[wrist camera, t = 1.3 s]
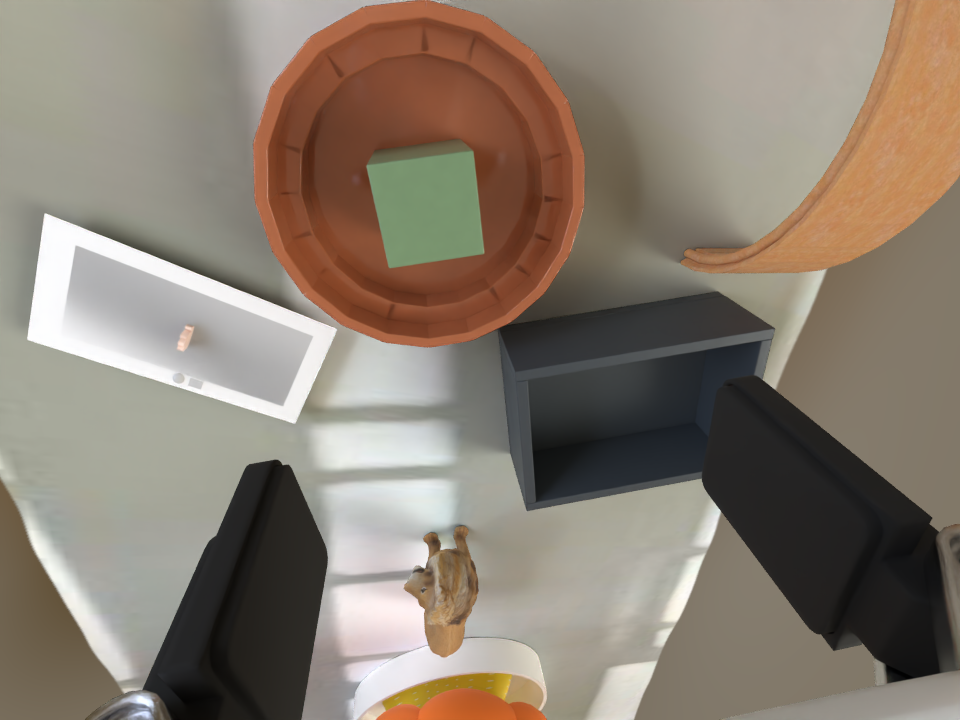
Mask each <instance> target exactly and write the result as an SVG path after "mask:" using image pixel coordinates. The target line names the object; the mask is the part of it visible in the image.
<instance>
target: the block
mask: <svg viewBox="0 0 960 720" xmlns="http://www.w3.org/2000/svg"><path fill="white" fill-rule="evenodd" d="M367 171H368V176H369V180H370V185H371V190H372V194H373V199H374V203H375V208H376V212H377V217H378V221H379V226H380V230H381V235H382V239H383V244H384V249H385V253H386V258H387V262H388V267H389V268H396V267H402V266H409V265H416V264H422V263H429V262H435V261H442V260H449V259H455V258H462V257H468V256H475V255H482V254H484V243H483V234H482V225H481V215H480V206H479V197H478V187H477V178H476V169H475V160H474V152H473V150H472V149H471V148H470V147H468V146H467V145H466V144H465V143H464V142H463V141H462V140H461V139H454V140H446V141H439V142H431V143H424V144H417V145H409V146H402V147H395V148H387V149H380V150H375V151H374V153H373V154H372V156H371V158H370V160H369V162H368V164H367Z"/></svg>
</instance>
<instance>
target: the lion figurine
mask: <svg viewBox="0 0 960 720" xmlns="http://www.w3.org/2000/svg"><path fill="white" fill-rule="evenodd" d="M467 535H468V529H467V528H466V527H465V526H458V527H456V528H455V530H454V540H455V542H456V546H457V549H456V548H455V549H445V550H440V547H441V543H440V540H439V539H438V536H437V534H436V533H431V532H430V533H429V534H427V535H426V536H425V537H424V538H423V540H424V542H425V543H427V544H428V547H429V557H428V561H427V564H426V568H425V569H424V568H422V567H421V566H415V567H414V569H413V572H412V575H411V576H410V577H409V579H408V581H407V583H406V584H405V585H404V589H405V591H407V592H409V593H411V594H412V595H413V596H415V597H416V598H417V599H418V602H419V605H420V606H421V607H423V608H424V609H425V613H424V622H425V634H426V637H427V641H428V644H429V647H430V650H431V651H432V652H433V653H434V654H437V655H440V656H441V657H443V658H445V657H448V656H449V655H451V654H453V653H455V652H456V651H457V650H458V649H459V648H460V647H461V645H462V642H463V638H464V630H465V626H464V625H465V622H466V619H467V617H468V616H469V614H470V613H471V611H472V606H473V605H474V603H475V601H476V598H477V594H478V578H477V574H476V568H475V565H474V562H473V561H472V560H471V556H470V553H469V550H468V546H467V544H466V540H465V538H466V536H467Z"/></svg>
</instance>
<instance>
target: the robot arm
mask: <svg viewBox="0 0 960 720" xmlns="http://www.w3.org/2000/svg"><path fill="white" fill-rule="evenodd" d="M702 482H703V486H704V488H705V490H706V491H707V493H708V494H709V496H710V497H711V498H712V500H713V501H714V502H715V504H716V505H717V506H718V508H719V509H720V510H721V512H722V513H723V514H724V516H725V517H726V518H727V520H728V521H729V522H730V524H731V525H732V526H733V528H734V529H735V530H736V532H737V533H738V534H739V536H740V537H741V538H742V540H743V541H744V542H745V544H746V545H747V546H748V548H749V549H750V550H751V552H752V553H753V554H754V556H755V557H756V558H757V560H758V561H759V562H760V564H761V565H762V566H763V568H764V569H765V570H766V572H767V573H768V574H769V576H770V577H771V578H772V580H773V581H774V582H775V584H776V585H777V586H778V588H779V589H780V590H781V592H782V593H783V594H784V596H785V597H786V599H787V600H788V601H789V603H790V604H791V605H792V607H793V608H794V609H795V611H796V612H797V613H798V614H799V616H800V617H801V619H802V620H803V621H804V623H805V624H806V625H807V626H808V627H809V629H811V630H812V631H813V632H814V633H816V634H821V635H822V636H823V638H824V639H825V640H826V641H827V643H828V644H829V645H830V647H831V648H832V649H833V651H835V650H840V649H844V648H849V647H853V646H858V645H861V644H862V643H863V644H864V645H865V647H866V648H867V649H868V650H869V651H870V653H871V654H872V655H873V656H874V671H875V686H873V687H868V688H863V689H858V690H853V691H849V692H844V693H839V694H835V695H830V696H825V697H821V698H816V699H812V700H807V701H802V702H798V703H793V704H788V705H784V706H779V707H775V708H770V709H765V710H761V711H756V712H751V713H747V714H742V715H738V716H733V717H729V718H724V719H719V720H960V524H954V525H951V526H948V527H945V528H943V529H942V530H941V531H940V532H938V531H937V530H936V529H935V528H934V527H932V526H931V525H930V524H929V523H930V521H931V519H932V517H931V516H930V515H928V514H927V513H926V512H925V511H924V510H922V509H921V508H920V507H919V506H917V505H916V504H915V503H914V502H912V501H911V500H909V498H907V497H906V496H905V495H904V494H902V493H901V492H900V491H899V490H898V489H896V488H895V487H894V486H892V485H891V484H890V483H889V482H888V481H887V480H885V479H884V478H883V477H881V476H880V475H879V474H878V473H877V472H875V471H874V470H873V469H872V468H870V467H869V466H868V465H867V464H866V463H864V462H863V461H862V460H861V459H859V458H858V457H857V456H856V455H854V454H853V453H852V452H851V451H850V450H848V449H847V448H846V447H845V446H843V445H842V444H841V443H840V442H838V441H837V440H836V439H835V438H833V437H832V436H831V435H830V434H829V433H827V432H826V431H825V430H824V429H822V428H821V427H820V426H819V425H817V424H816V423H815V422H814V421H813V420H811V419H810V418H809V417H808V416H806V415H805V414H804V413H803V412H801V411H800V410H799V409H798V408H796V407H795V406H794V405H793V404H792V403H790V402H789V401H788V400H787V399H785V398H784V397H783V396H782V395H780V394H779V393H778V392H777V391H776V390H774V389H773V388H772V387H771V386H769V385H768V384H767V383H766V382H764V381H763V380H762V379H761V378H759V377H758V376H756V375H749V376H743V377H738V378H732V379H728V380H726V381H725V382H724V383H723V386H722V387H720V388H719V389H718V390H717V393H716V397H715V403H714V409H713V414H712V420H711V426H710V431H709V437H708V443H707V448H706V454H705V459H704V465H703V471H702ZM327 563H328V556H327V549H326V546H325V544H324V541H323V539H322V537H321V534H320V532H319V530H318V528H317V525H316V523H315V521H314V518H313V516H312V514H311V512H310V509H309V507H308V505H307V502H306V500H305V498H304V496H303V493H302V491H301V489H300V486H299V484H298V482H297V480H296V477H295V475H294V473H293V470H292V468H291V467H290V466H289V465H282V463H281V462H280V461H279V460H271V461H265V462H260V463H254V464H249V465H248V466H247V467H246V468H245V470H244V472H243V475H242V477H241V479H240V482H239V484H238V486H237V489H236V491H235V493H234V496H233V498H232V500H231V503H230V505H229V507H228V510H227V512H226V514H225V517H224V519H223V521H222V524H221V526H220V528H219V531H218V533H217V535H216V536H215V537H213V538H212V539H211V540H210V541H209V542H208V544H207V546H206V548H205V549H204V552H203V554H202V556H201V558H200V561H199V563H198V565H197V567H196V570H195V572H194V574H193V577H192V579H191V581H190V583H189V586H188V588H187V590H186V592H185V595H184V597H183V599H182V601H181V604H180V606H179V608H178V610H177V613H176V615H175V617H174V620H173V622H172V624H171V626H170V629H169V631H168V633H167V635H166V638H165V640H164V642H163V644H162V647H161V649H160V651H159V653H158V656H157V658H156V660H155V663H154V665H153V667H152V669H151V672H150V674H149V676H148V678H147V681H146V683H145V685H144V687H143V690H139V691H131V692H128V693H125V694H123V695H121V696H118V697H115V698H113V699H112V700H110V701H108V702H107V703H105V704H104V705H102V706H101V707H99V708H98V709H96V710H95V711H94V712H93V713H92V714H90V715H89V716H88V717H87V718H86V719H85V720H301V718H302V712H303V707H304V701H305V695H306V689H307V683H308V677H309V671H310V665H311V659H312V653H313V647H314V641H315V635H316V629H317V623H318V617H319V611H320V605H321V599H322V594H323V588H324V582H325V576H326V570H327Z"/></svg>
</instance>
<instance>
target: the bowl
mask: <svg viewBox="0 0 960 720" xmlns="http://www.w3.org/2000/svg"><path fill="white" fill-rule="evenodd" d="M454 139H461V140H462V141H463V142H464V143H465V144H466V145H467V146H468V147H470V148H471V149H472V150H473V152H474V160H475V169H476V178H477V187H478V197H479V206H480V215H481V225H482V234H483V243H484V254H482V255H475V256H468V257H462V258H455V259H449V260H442V261H435V262H429V263H422V264H416V265H409V266H402V267H396V268H389V267H388V262H387V258H386V253H385V249H384V244H383V239H382V235H381V230H380V226H379V221H378V217H377V212H376V208H375V203H374V199H373V194H372V190H371V185H370V180H369V176H368V171H367V164H368V162H369V160H370V158H371V156H372V154H373V153H374V151H375V150H380V149H387V148H395V147H402V146H409V145H417V144H424V143H431V142H439V141H446V140H454ZM253 156H254V194H255V203H256V206H257V209H258V212H259V215H260V217H261V220H262V223H263V226H264V229H265V232H266V235H267V238H268V240H269V243H270V246H271V249H272V252H273V253H274V255H275V256H276V258H277V259H278V260H279V262H280V263H281V264H282V266H283V267H284V269H285V270H286V271H287V273H288V274H289V276H290V277H291V278H292V280H293V281H294V282H295V284H296V285H297V287H298V288H299V289H300V291H301V292H302V294H304V296H305V297H307V298H308V299H309V300H311V301H312V302H313V303H314V304H316V305H317V306H318V307H319V308H321V309H322V310H323V311H325V312H326V313H327V314H328V315H330V316H331V317H332V318H333V319H335V320H336V321H337V322H339V323H340V324H341V325H343V326H345V327H348V328H350V329H353V330H355V331H358V332H360V333H363V334H365V335H367V336H370V337H372V338H375V339H377V340H380V341H382V342H386V343H393V344H401V345H410V346H419V347H427V348H428V347H436V346H443V345H449V344H455V343H461V342H467V341H471V340H474V339H477V338H479V337H481V336H483V335H485V334H487V333H489V332H492V331H494V330H496V329H498V328H500V327H502V326H504V325H506V324H509V323H510V322H512V321H513V320H514V319H516V318H517V317H518V316H519V315H520V314H521V313H522V312H524V311H525V310H526V309H527V308H528V307H529V306H530V305H532V304H533V303H534V302H535V301H536V300H537V299H539V298H540V297H541V296H542V295H543V294H544V292H546V290H547V289H548V287H549V286H550V284H551V283H552V281H553V280H554V278H555V276H556V275H557V273H558V272H559V270H560V269H561V267H562V266H563V264H564V263H565V261H566V259H567V258H568V256H569V254H570V252H571V249H572V246H573V242H574V239H575V236H576V232H577V229H578V226H579V222H580V219H581V216H582V212H583V209H584V166H585V156H584V151H583V148H582V144H581V141H580V138H579V134H578V131H577V128H576V124H575V121H574V118H573V114H572V111H571V108H570V104H569V102H568V100H567V98H566V96H565V95H564V94H563V92H562V91H561V89H560V88H559V86H558V85H557V83H556V82H555V81H554V79H553V78H552V76H551V75H550V73H549V72H548V70H547V69H546V67H545V66H544V65H543V63H542V62H541V60H540V59H539V57H538V56H537V54H536V53H534V51H533V50H531V49H530V48H529V47H527V46H526V45H525V44H523V43H522V42H520V41H519V40H518V39H516V38H515V37H514V36H512V35H511V34H510V33H508V32H507V31H505V30H504V29H503V28H501V27H500V26H499V25H497V24H496V23H495V22H493V21H492V20H490V19H489V18H488V17H485V16H484V15H481V14H477V13H473V12H470V11H466V10H463V9H459V8H455V7H452V6H448V5H444V4H441V3H437V2H434V1H430V0H426V1H425V0H415V1H407V2H398V3H389V4H381V5H372V6H365V7H362V8H360V9H358V10H357V11H355V12H353V13H351V14H349V15H348V16H346V17H344V18H342V19H341V20H339V21H337V22H335V23H333V24H332V25H330V26H328V27H326V28H325V29H323V30H321V31H319V32H317V33H316V34H314V35H312V36H311V37H310V38H308V40H307V41H306V42H305V43H304V45H303V46H302V47H301V48H300V50H299V51H298V52H297V54H296V55H295V56H294V57H293V59H292V60H291V61H290V62H289V64H288V65H287V66H286V67H285V69H284V70H283V71H282V72H281V74H280V75H279V76H278V78H277V79H276V80H275V81H274V83H273V84H272V86H271V88H270V91H269V94H268V97H267V101H266V104H265V107H264V110H263V113H262V116H261V119H260V123H259V126H258V129H257V132H256V135H255V138H254V143H253Z"/></svg>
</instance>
